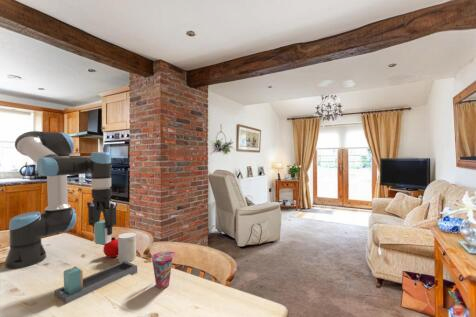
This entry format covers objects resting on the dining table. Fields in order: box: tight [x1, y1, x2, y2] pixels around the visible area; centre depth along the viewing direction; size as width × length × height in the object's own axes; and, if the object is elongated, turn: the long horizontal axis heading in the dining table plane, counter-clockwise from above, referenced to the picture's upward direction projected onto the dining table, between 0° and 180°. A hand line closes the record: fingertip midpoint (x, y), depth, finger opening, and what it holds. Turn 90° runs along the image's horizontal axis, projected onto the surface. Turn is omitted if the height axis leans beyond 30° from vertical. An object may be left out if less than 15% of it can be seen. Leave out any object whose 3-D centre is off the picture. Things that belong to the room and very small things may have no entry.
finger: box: [93, 219, 106, 246], centre depth 103 cm, size 4×5×9 cm
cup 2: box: [150, 251, 176, 289], centre depth 97 cm, size 9×8×12 cm
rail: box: [54, 261, 138, 305], centre depth 98 cm, size 9×28×3 cm, turn 148°
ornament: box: [102, 236, 118, 259], centre depth 123 cm, size 9×9×10 cm
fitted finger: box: [63, 266, 84, 295], centre depth 89 cm, size 4×5×9 cm
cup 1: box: [117, 232, 137, 263], centre depth 121 cm, size 8×8×12 cm
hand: (102, 241), depth 103 cm, fingers closed on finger, 5 cm apart
